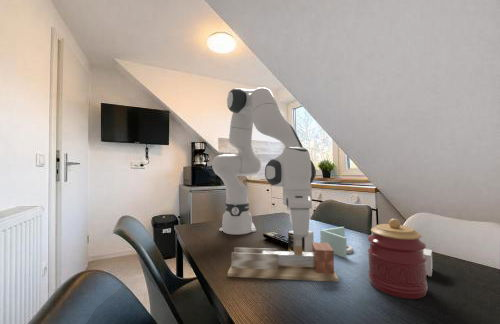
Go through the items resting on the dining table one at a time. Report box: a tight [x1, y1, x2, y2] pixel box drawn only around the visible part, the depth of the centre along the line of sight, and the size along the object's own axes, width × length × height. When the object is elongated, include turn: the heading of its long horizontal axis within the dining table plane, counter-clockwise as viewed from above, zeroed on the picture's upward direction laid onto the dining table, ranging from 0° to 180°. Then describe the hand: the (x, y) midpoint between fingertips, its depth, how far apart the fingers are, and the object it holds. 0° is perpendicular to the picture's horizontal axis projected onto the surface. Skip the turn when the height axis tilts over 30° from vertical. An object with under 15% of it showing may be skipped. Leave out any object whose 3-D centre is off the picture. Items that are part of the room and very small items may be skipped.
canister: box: [367, 218, 428, 300], centre depth 60 cm, size 13×13×18 cm
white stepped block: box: [262, 236, 315, 267], centre depth 70 cm, size 18×3×9 cm, turn 83°
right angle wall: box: [319, 226, 354, 259], centre depth 87 cm, size 12×12×8 cm
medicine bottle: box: [287, 229, 315, 252], centre depth 87 cm, size 7×7×12 cm
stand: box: [227, 242, 339, 283], centre depth 70 cm, size 31×12×8 cm, turn 83°
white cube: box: [423, 248, 433, 277], centre depth 69 cm, size 6×6×6 cm
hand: (297, 243), depth 70 cm, fingers closed on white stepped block, 2 cm apart
